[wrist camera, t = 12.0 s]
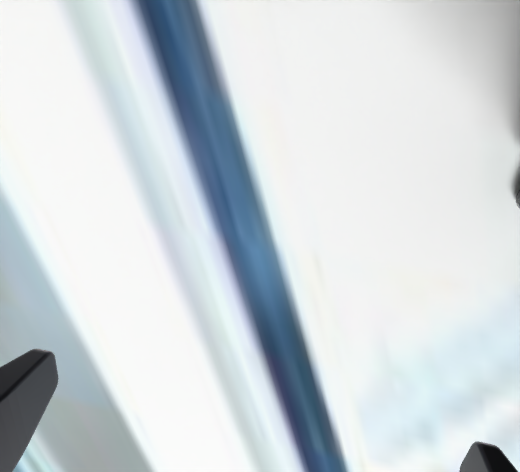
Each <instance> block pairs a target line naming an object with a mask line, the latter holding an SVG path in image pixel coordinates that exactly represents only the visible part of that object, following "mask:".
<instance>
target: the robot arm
mask: <svg viewBox="0 0 520 472" xmlns="http://www.w3.org/2000/svg"><path fill="white" fill-rule="evenodd" d="M516 203H517V206H518V207H519V208H520V191H519V193H518V195H517V198H516ZM57 384H58V372H57V366H56V360H55V355H54V354H53V353H52V352H51V351H46V350H42V349H33V350H30V351H28V352H27V353H25V354H23V355H21V356H20V357H18V358H16V359H14V360H12V361H11V362H9V363H7V364H5V365H4V366H2V367H0V472H12V471H13V470H14V468H15V467H16V465H17V463H18V462H19V460H20V458H21V457H22V455H23V453H24V451H25V449H26V447H27V446H28V444H29V442H30V440H31V438H32V436H33V434H34V432H35V430H36V428H37V426H38V424H39V422H40V420H41V418H42V416H43V414H44V412H45V410H46V408H47V405H48V403H49V401H50V399H51V397H52V395H53V393H54V391H55V389H56V387H57ZM460 472H518V471H517V470H516V468H515V467H514V466H513V465H512V463H511V462H510V461H509V460H508V458H507V457H506V456H505V455H504V453H503V452H502V451H501V450H500V449H499V448H498V447H497V446H495V445H492V444H488V443H483V442H475V443H473V444H472V446H471V448H470V449H469V451H468V453H467V455H466V457H465V458H464V460H463V462H462V464H461V467H460Z"/></svg>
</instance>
